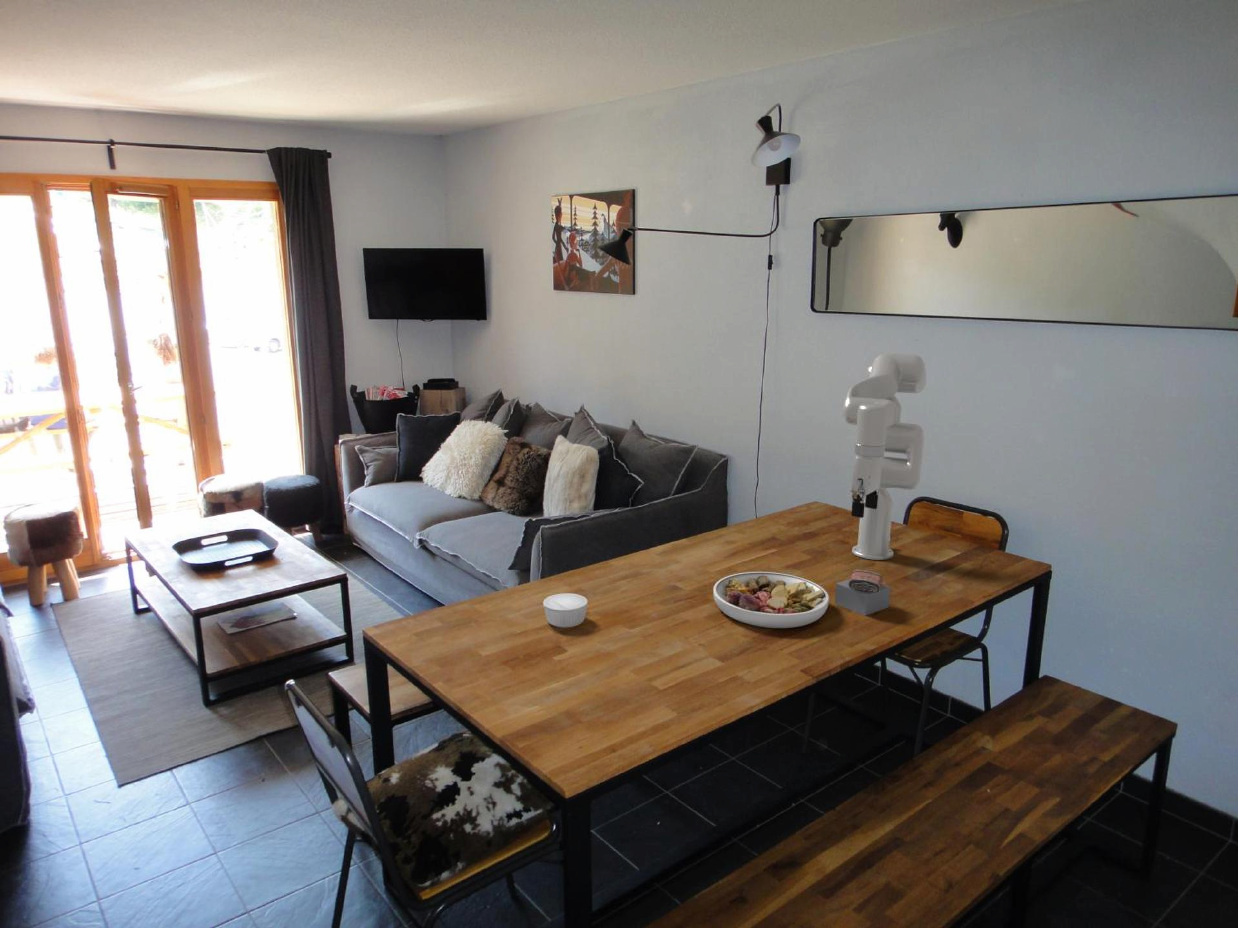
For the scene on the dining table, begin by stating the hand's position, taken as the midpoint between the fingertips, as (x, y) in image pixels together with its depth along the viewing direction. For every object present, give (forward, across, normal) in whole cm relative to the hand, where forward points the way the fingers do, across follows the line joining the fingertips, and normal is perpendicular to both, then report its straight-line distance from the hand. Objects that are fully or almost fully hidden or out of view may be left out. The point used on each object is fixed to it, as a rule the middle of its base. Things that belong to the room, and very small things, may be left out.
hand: (864, 512), depth 226 cm
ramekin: (+24, +62, -53) cm, 85 cm away
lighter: (+17, +10, +5) cm, 20 cm away
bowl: (+25, +22, -15) cm, 37 cm away
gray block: (+25, +5, +3) cm, 25 cm away
